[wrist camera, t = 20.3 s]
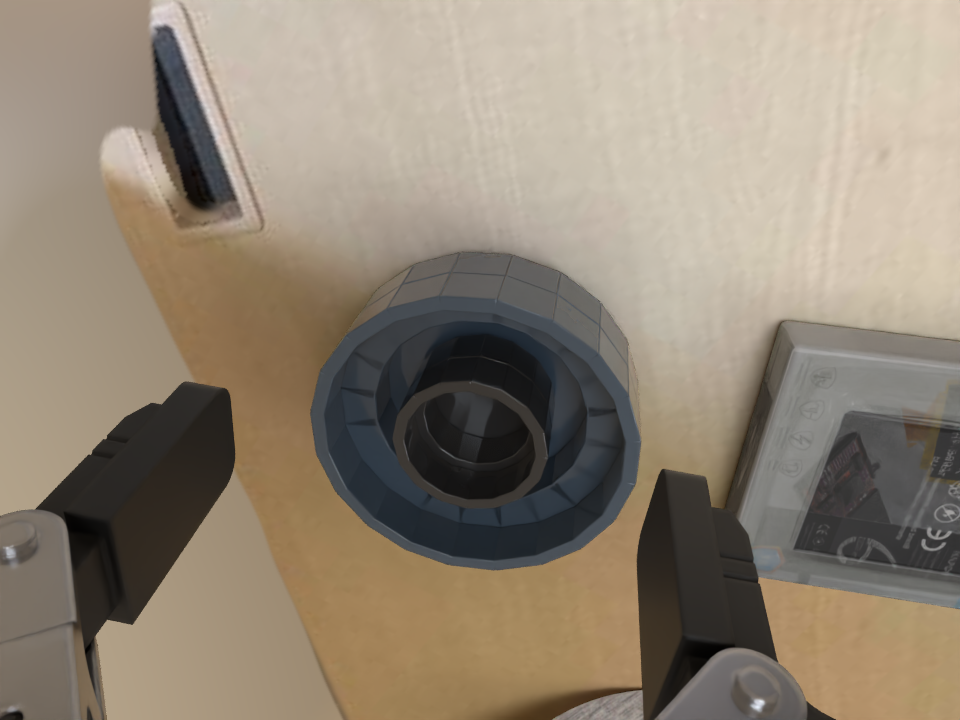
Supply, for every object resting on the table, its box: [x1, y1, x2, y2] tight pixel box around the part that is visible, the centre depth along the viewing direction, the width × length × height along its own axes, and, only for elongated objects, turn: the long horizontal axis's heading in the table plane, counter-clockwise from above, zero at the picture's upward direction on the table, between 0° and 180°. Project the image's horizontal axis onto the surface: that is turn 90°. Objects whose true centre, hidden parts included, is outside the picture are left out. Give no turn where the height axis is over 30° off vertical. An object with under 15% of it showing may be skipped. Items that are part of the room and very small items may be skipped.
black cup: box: [392, 334, 555, 509], centre depth 31 cm, size 6×6×4 cm
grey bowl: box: [310, 252, 641, 570], centre depth 31 cm, size 13×13×5 cm
